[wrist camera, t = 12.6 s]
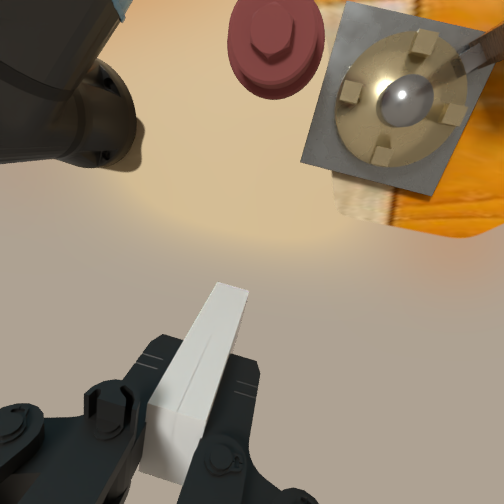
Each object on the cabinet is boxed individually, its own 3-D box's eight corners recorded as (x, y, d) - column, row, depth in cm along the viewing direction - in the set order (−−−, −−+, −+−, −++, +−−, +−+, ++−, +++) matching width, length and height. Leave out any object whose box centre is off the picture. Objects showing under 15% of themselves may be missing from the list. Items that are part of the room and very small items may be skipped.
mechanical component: (304, -3, 35) (329, 85, 38) (229, 39, 37) (258, 118, 40) (307, -72, 23) (343, 62, 26) (198, -4, 26) (241, 110, 29)
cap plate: (300, 161, 41) (300, 162, 40) (344, 6, 34) (346, 0, 33) (427, 194, 40) (431, 196, 39) (499, 41, 33) (507, 37, 32)
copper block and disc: (364, 186, 40) (384, 201, 30) (314, 88, 37) (318, 70, 27) (551, 82, 33) (654, 59, 23) (509, -49, 30) (609, -139, 20)
